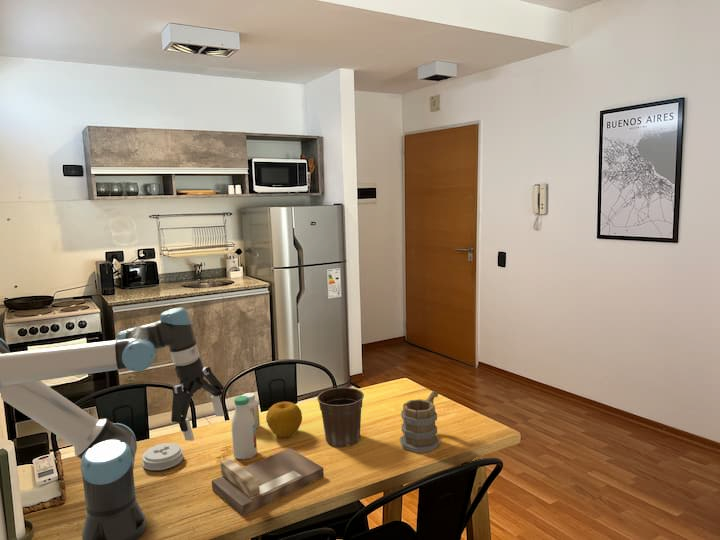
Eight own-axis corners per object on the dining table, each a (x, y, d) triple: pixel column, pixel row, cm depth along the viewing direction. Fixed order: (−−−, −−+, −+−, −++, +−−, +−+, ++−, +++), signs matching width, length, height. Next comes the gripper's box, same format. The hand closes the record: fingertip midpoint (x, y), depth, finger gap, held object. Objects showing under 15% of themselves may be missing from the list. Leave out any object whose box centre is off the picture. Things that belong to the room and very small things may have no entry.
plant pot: (313, 448, 182) (310, 403, 179) (327, 427, 197) (325, 386, 195) (359, 452, 178) (357, 406, 176) (369, 430, 193) (368, 388, 191)
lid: (186, 451, 183) (185, 438, 182) (180, 470, 171) (178, 456, 170) (148, 455, 181) (146, 442, 180) (138, 475, 169) (137, 460, 168)
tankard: (426, 456, 174) (425, 413, 171) (394, 446, 181) (392, 404, 179) (454, 433, 189) (454, 393, 187) (423, 424, 197) (423, 386, 195)
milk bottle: (251, 461, 175) (247, 403, 172) (229, 459, 176) (225, 402, 173) (260, 449, 182) (256, 394, 179) (239, 448, 184) (235, 393, 181)
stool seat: (242, 515, 145) (242, 505, 145) (212, 489, 158) (211, 480, 158) (323, 476, 163) (323, 467, 163) (290, 456, 177) (289, 447, 176)
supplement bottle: (252, 422, 204) (249, 390, 202) (263, 426, 200) (261, 394, 198) (238, 428, 199) (235, 395, 197) (249, 433, 195) (247, 399, 193)
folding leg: (259, 493, 150) (258, 479, 149) (250, 497, 148) (249, 484, 147) (230, 470, 163) (229, 458, 162) (221, 474, 161) (220, 462, 160)
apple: (269, 445, 185) (267, 413, 184) (265, 429, 198) (263, 400, 196) (305, 439, 189) (304, 408, 187) (299, 424, 201) (298, 395, 199)
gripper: (165, 380, 140) (186, 451, 145) (224, 343, 162) (240, 406, 167) (145, 380, 144) (165, 450, 148) (205, 344, 166) (222, 406, 170)
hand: (205, 427), depth 157 cm, fingers open, 13 cm apart
